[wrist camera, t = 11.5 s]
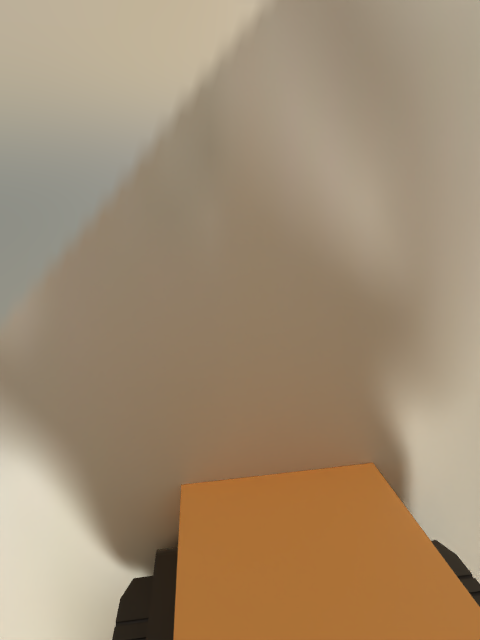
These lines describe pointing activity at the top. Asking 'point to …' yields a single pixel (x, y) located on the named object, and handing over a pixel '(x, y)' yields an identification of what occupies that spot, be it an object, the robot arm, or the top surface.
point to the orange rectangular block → (312, 562)
